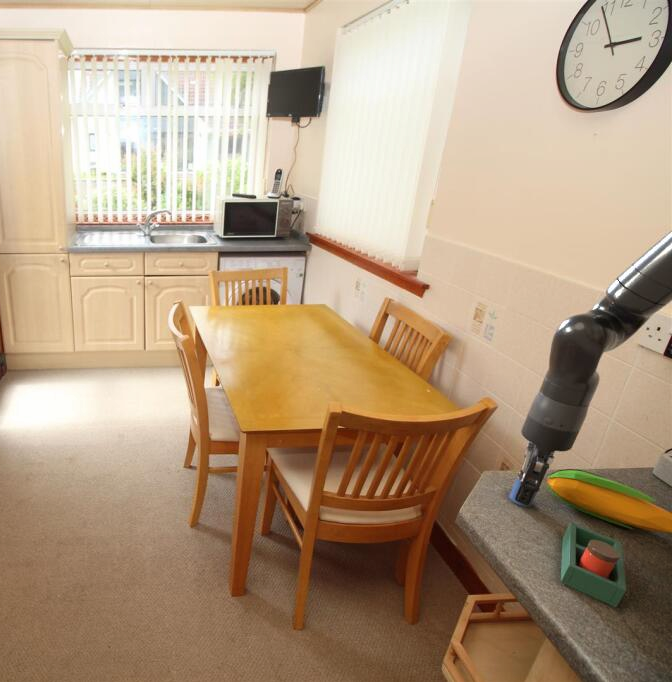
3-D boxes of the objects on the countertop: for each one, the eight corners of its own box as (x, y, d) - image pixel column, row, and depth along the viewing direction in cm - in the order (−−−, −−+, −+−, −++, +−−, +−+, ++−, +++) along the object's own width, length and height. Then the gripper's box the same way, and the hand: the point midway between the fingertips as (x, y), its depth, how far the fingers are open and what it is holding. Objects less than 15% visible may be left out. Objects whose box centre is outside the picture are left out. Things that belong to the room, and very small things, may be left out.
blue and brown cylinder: (532, 500, 92) (543, 474, 90) (530, 509, 90) (542, 484, 87) (510, 491, 94) (520, 466, 92) (508, 500, 92) (518, 475, 89)
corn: (556, 452, 94) (700, 500, 82) (542, 482, 97) (679, 532, 85) (553, 471, 89) (706, 525, 77) (539, 502, 92) (684, 558, 80)
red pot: (603, 576, 75) (619, 548, 72) (604, 591, 72) (620, 562, 70) (574, 564, 77) (589, 535, 74) (574, 578, 74) (589, 549, 72)
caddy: (612, 558, 79) (621, 542, 78) (616, 607, 70) (626, 590, 69) (562, 537, 83) (570, 522, 82) (560, 582, 74) (569, 565, 73)
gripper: (581, 443, 78) (545, 521, 84) (581, 411, 88) (549, 482, 94) (525, 426, 82) (495, 501, 88) (532, 397, 92) (504, 466, 98)
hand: (523, 491), depth 91 cm, fingers open, 7 cm apart
